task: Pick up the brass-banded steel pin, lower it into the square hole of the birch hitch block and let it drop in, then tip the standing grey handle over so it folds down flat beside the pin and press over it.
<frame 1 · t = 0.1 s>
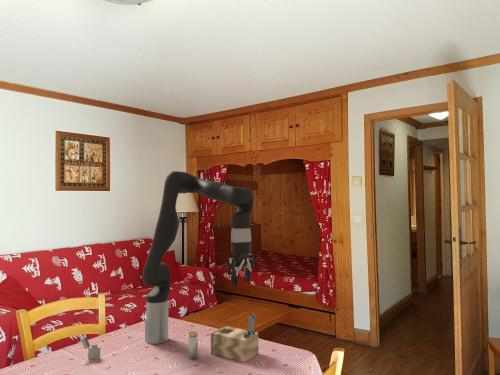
hand: (241, 283, 142), 29 cm above the table, fingers open, 8 cm apart
hitch block: (234, 353, 150), on the table
grey handle: (251, 325, 146), point 12 cm above the table, hinge at 98.0°
lighter: (90, 358, 147), on the table
pin: (193, 358, 146), on the table
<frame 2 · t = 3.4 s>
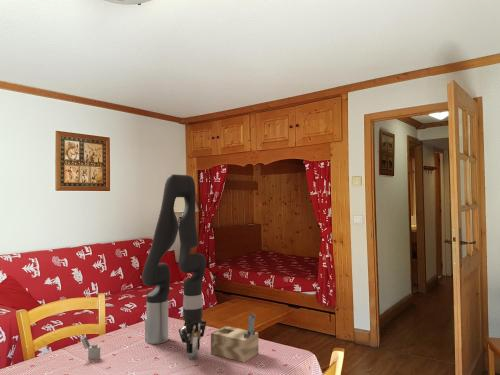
hand: (193, 350, 146), 3 cm above the table, fingers closed on pin, 3 cm apart
pin: (193, 358, 146), on the table, touching gripper
everything else where it was.
when the fingers open (8 cm above the table, at t = 7.6 s): pin drops 6 cm, resting in hitch block.
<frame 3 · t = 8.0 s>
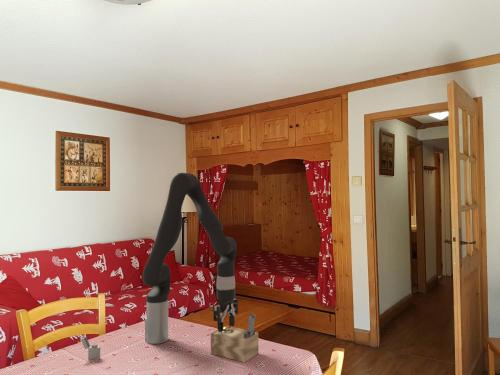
hand: (226, 328, 152), 9 cm above the table, fingers open, 7 cm apart
pin: (226, 351, 152), resting in hitch block
everything else where it was.
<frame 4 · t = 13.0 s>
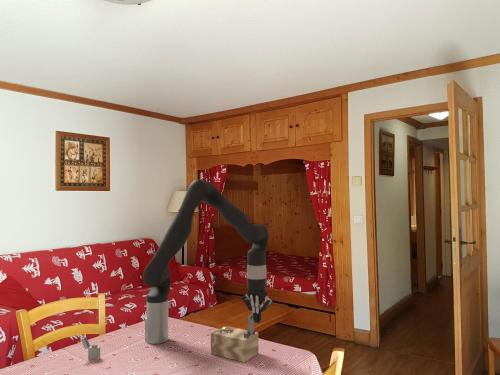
hand: (257, 322, 144), 14 cm above the table, fingers closed
grey handle: (250, 325, 146), point 12 cm above the table, hinge at 96.1°, touching gripper
everything else where it was.
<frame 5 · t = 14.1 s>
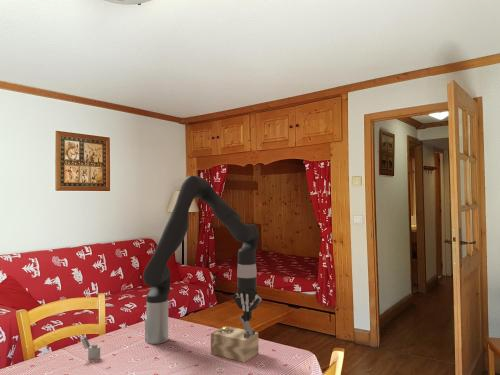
hand: (247, 320, 147), 14 cm above the table, fingers closed
grey handle: (246, 325, 147), point 12 cm above the table, hinge at 62.5°, touching gripper
everything else where it was.
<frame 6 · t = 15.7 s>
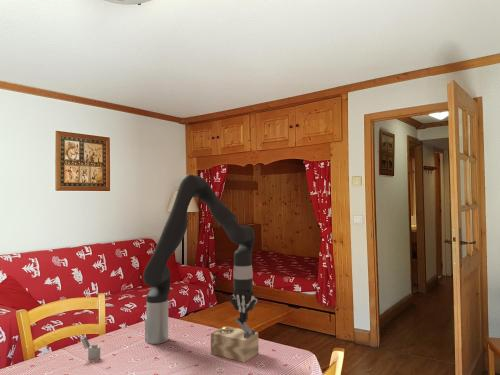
hand: (243, 321, 148), 13 cm above the table, fingers closed
grey handle: (244, 326, 147), point 11 cm above the table, hinge at 44.4°
everything else where it was.
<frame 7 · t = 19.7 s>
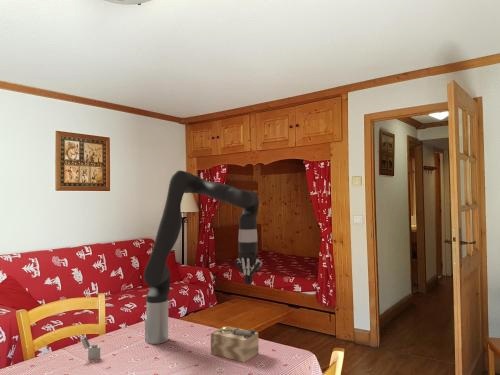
hand: (248, 284, 150), 27 cm above the table, fingers closed
grey handle: (242, 332, 148), point 9 cm above the table, hinge at 0.0°
everything else where it was.
at the end: pin 0.2 cm from the target spot on the hitch block, point 0.0 cm above the hitch block's base; pin tilted 0°; grey handle at +0° (first picture: +98°) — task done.
